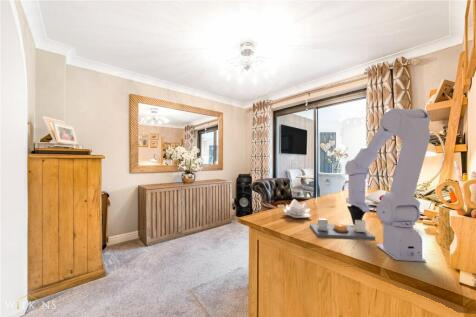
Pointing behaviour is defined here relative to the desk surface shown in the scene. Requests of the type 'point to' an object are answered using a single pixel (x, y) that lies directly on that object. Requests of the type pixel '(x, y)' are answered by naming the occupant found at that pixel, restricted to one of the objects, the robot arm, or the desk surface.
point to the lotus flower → (297, 209)
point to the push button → (340, 227)
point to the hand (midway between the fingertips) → (356, 224)
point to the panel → (341, 233)
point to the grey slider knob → (322, 225)
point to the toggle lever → (360, 226)
